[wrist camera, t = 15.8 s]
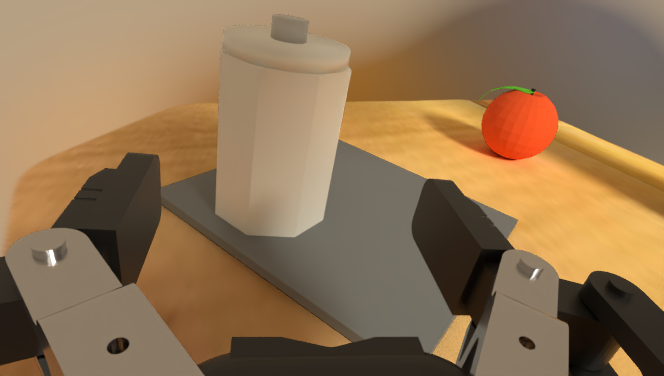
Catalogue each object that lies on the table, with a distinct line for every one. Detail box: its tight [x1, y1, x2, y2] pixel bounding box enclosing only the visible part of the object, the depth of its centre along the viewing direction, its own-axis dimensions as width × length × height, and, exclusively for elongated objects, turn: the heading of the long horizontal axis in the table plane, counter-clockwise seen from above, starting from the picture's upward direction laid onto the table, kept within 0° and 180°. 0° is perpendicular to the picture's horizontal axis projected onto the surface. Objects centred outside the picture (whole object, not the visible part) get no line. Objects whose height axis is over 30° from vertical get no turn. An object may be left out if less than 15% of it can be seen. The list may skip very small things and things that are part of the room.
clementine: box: [481, 86, 558, 159], centre depth 40 cm, size 8×7×7 cm
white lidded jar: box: [215, 14, 351, 237], centre depth 22 cm, size 6×6×11 cm
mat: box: [161, 139, 518, 354], centre depth 27 cm, size 17×18×1 cm
